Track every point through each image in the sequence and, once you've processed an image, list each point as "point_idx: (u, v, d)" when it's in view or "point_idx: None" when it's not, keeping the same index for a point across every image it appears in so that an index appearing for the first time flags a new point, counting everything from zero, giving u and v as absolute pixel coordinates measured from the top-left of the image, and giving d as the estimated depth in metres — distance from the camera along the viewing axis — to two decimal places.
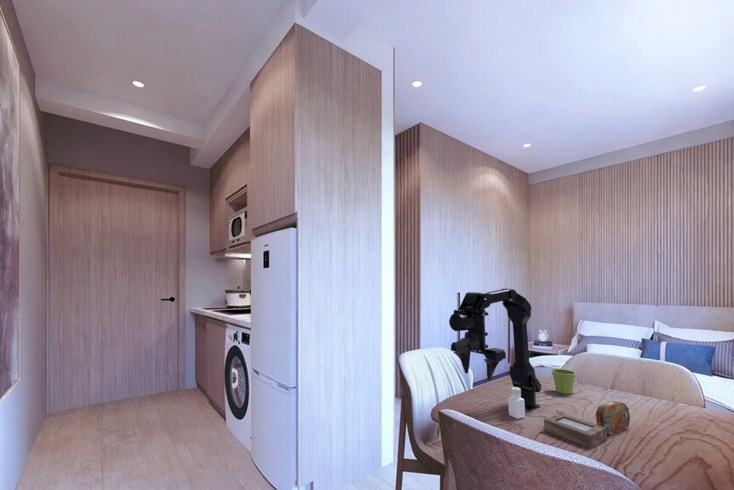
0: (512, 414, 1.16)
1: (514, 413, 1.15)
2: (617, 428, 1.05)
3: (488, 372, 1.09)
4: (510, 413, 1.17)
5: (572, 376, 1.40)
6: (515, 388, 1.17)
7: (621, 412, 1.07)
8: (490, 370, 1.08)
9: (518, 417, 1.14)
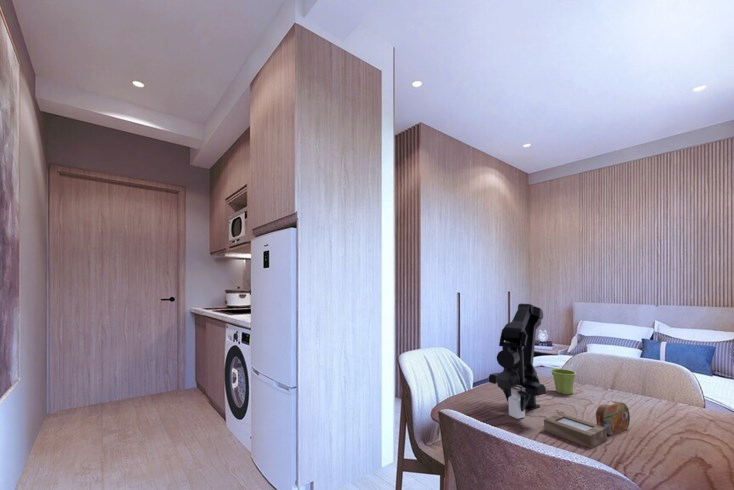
0: (512, 414, 1.16)
1: (514, 413, 1.15)
2: (617, 428, 1.05)
3: (522, 404, 1.14)
4: (510, 413, 1.17)
5: (572, 376, 1.40)
6: (515, 388, 1.17)
7: (621, 412, 1.07)
8: (524, 402, 1.14)
9: (518, 417, 1.14)
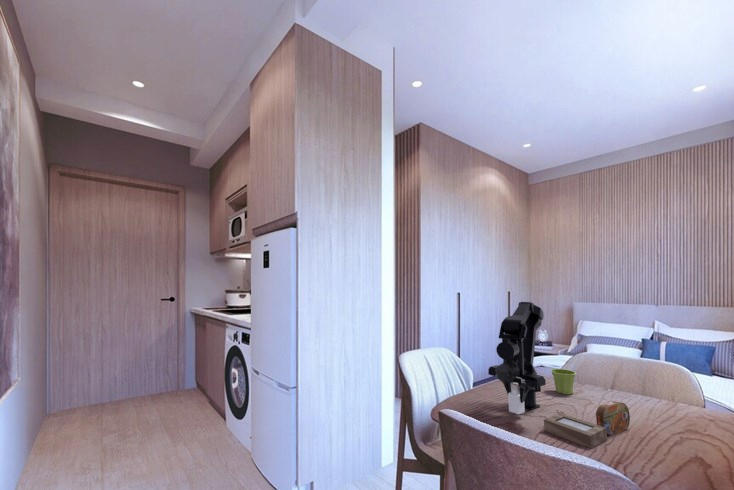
0: (513, 410, 1.16)
1: (515, 409, 1.15)
2: (617, 428, 1.05)
3: (521, 396, 1.15)
4: (510, 409, 1.16)
5: (572, 376, 1.40)
6: (515, 384, 1.17)
7: (621, 412, 1.07)
8: (523, 394, 1.14)
9: (519, 412, 1.14)
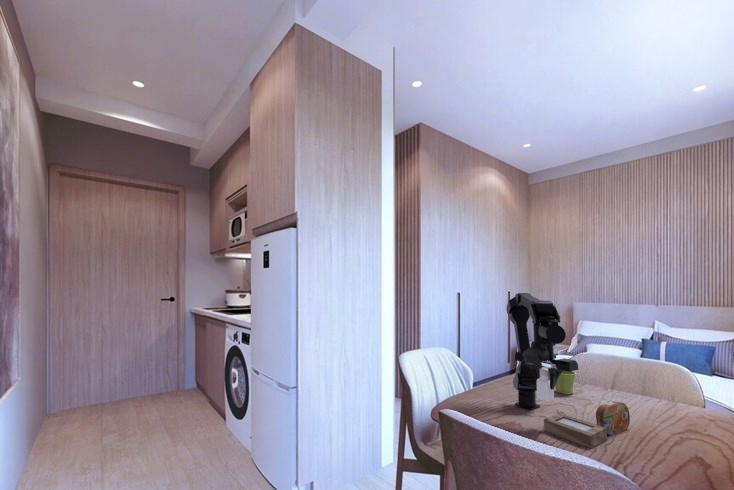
0: (541, 397, 1.09)
1: (543, 396, 1.08)
2: (617, 428, 1.05)
3: (551, 381, 1.07)
4: (539, 396, 1.09)
5: (572, 376, 1.40)
6: (544, 369, 1.10)
7: (621, 412, 1.07)
8: (554, 379, 1.07)
9: (548, 400, 1.07)
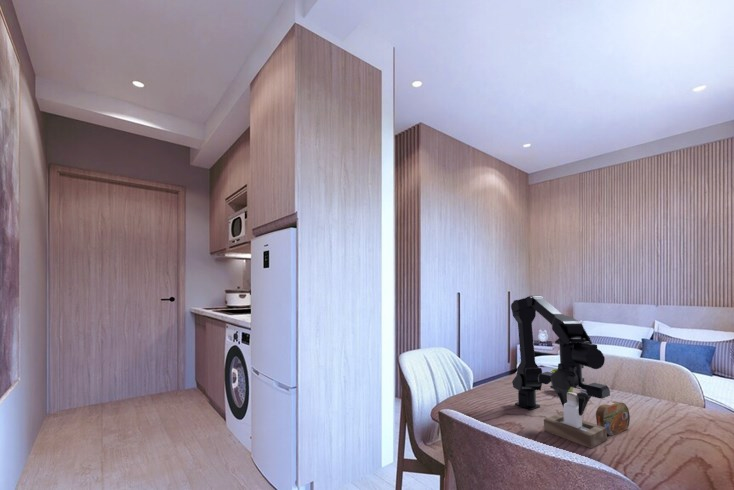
0: (569, 423, 1.02)
1: (571, 423, 1.02)
2: (617, 428, 1.05)
3: (580, 407, 1.01)
4: (566, 422, 1.03)
5: None
6: (572, 394, 1.04)
7: (621, 412, 1.07)
8: (583, 405, 1.01)
9: (577, 427, 1.01)
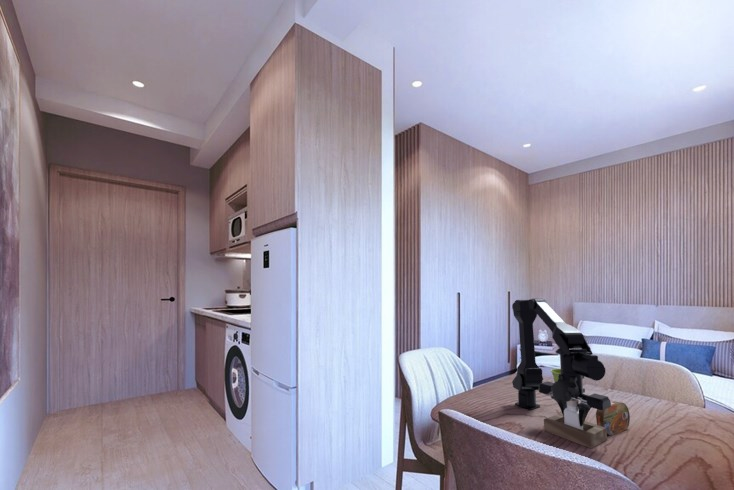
0: None
1: None
2: (617, 428, 1.05)
3: (581, 418, 1.01)
4: None
5: None
6: (572, 399, 1.04)
7: (621, 412, 1.07)
8: (583, 416, 1.01)
9: None
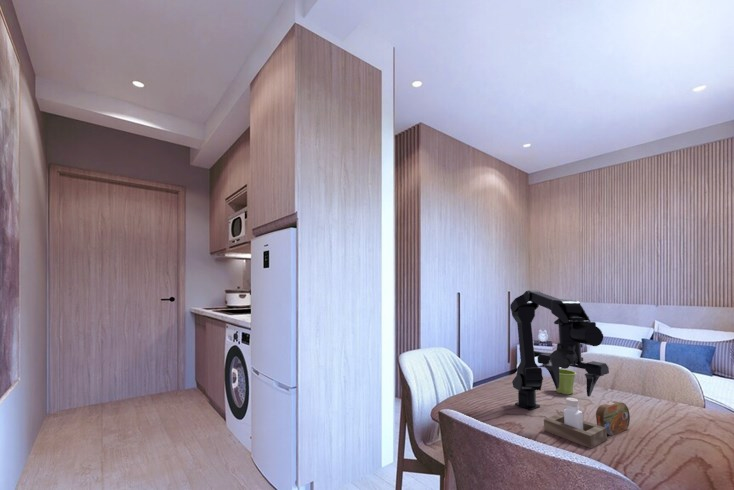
0: None
1: None
2: (617, 428, 1.05)
3: (588, 388, 0.99)
4: None
5: (572, 376, 1.40)
6: (572, 399, 1.04)
7: (621, 412, 1.07)
8: (591, 386, 0.99)
9: None
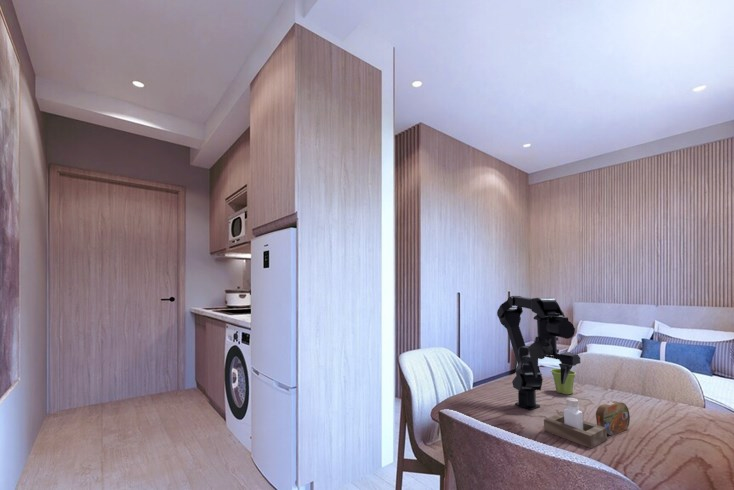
0: None
1: None
2: (617, 428, 1.05)
3: (562, 376, 1.10)
4: None
5: (572, 376, 1.40)
6: (572, 399, 1.04)
7: (621, 412, 1.07)
8: (564, 374, 1.10)
9: None
